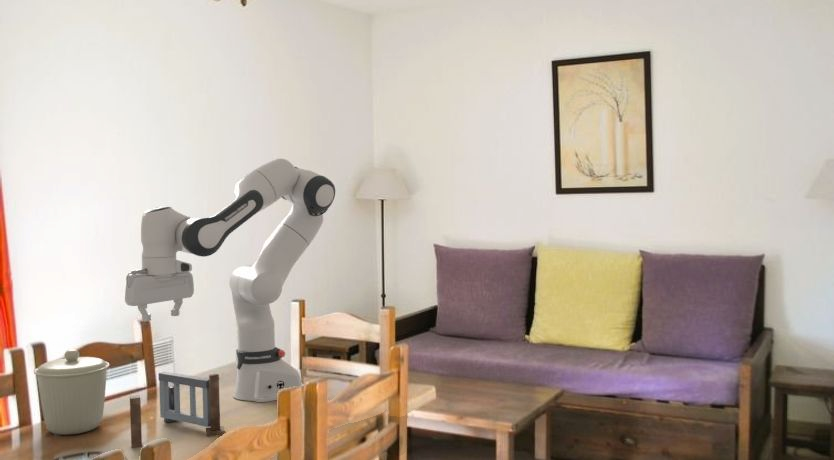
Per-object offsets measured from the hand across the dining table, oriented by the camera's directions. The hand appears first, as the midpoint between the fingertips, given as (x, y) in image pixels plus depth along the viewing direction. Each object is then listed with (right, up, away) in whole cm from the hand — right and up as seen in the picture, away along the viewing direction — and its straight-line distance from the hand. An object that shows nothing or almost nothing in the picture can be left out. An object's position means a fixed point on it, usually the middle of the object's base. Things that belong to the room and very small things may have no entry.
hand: (161, 318), depth 213 cm
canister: (-21, -29, -6) cm, 36 cm away
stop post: (+3, -28, +1) cm, 28 cm away
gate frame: (+9, -28, -15) cm, 33 cm away
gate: (+8, -26, -6) cm, 28 cm away
